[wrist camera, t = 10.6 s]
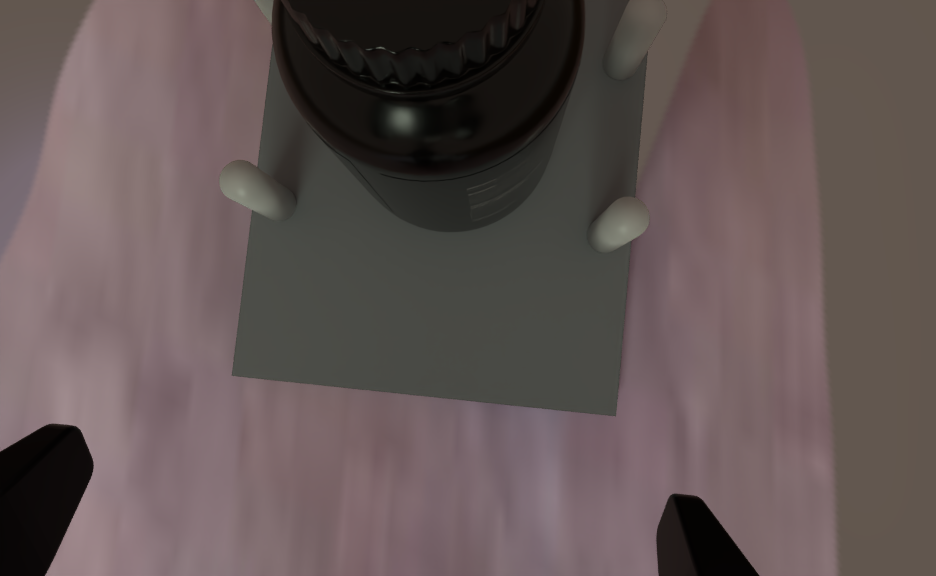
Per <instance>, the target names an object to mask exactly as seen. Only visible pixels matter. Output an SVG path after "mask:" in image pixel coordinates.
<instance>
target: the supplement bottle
mask: <svg viewBox="0 0 936 576" xmlns="http://www.w3.org/2000/svg"><path fill="white" fill-rule="evenodd" d="M585 29H586V8H585V0H273V8H272V40H273V48H274V53H275V59H276V63H277V66H278V70H279V73H280V76H281V79H282V81H283V84H284V86H285V88H286V91H287V92H288V94H289V96H290V98H291V100H292V102H293V104H294V105H295V107H296V108H297V110H298V111H299V113H300V114H301V116H302V117H303V119H304V120H305V121H306V123H307V124H308V125H309V126H310V128H311V129H312V130H313V131H314V132H315V134H316V135H317V136H318V137H319V138H320V139H321V140H322V141H323V143H324V144H325V145H326V146H327V147H328V148H329V149H330V150H331V151H332V152H333V154H334V155H335V156H336V157H337V158H338V159H339V160H340V161H341V162H342V163H343V164H344V166H345V167H346V168H347V169H348V170H349V171H350V172H351V173H352V174H353V175H354V177H355V178H356V179H357V180H358V181H359V182H360V183H361V184H362V185H363V186H364V187H365V189H366V190H367V191H368V192H369V193H370V194H371V195H372V196H373V197H374V198H375V199H376V200H377V201H378V202H379V203H380V204H381V205H382V206H383V207H385V208H386V209H387V210H388V211H390V212H391V213H392V214H394V215H395V216H397V217H398V218H400V219H402V220H404V221H406V222H408V223H410V224H412V225H415V226H417V227H420V228H424V229H427V230H432V231H438V232H464V231H470V230H475V229H479V228H482V227H485V226H488V225H490V224H493V223H495V222H497V221H499V220H501V219H502V218H504V217H506V216H507V215H509V214H510V213H512V212H513V211H514V210H515V209H517V208H518V207H519V206H520V205H521V204H522V203H523V202H524V201H525V200H526V199H527V198H528V197H529V196H530V194H531V193H532V192H533V191H534V189H535V188H536V186H537V185H538V183H539V182H540V180H541V178H542V176H543V174H544V172H545V170H546V167H547V165H548V162H549V160H550V157H551V155H552V152H553V148H554V145H555V142H556V139H557V136H558V133H559V130H560V127H561V124H562V120H563V117H564V114H565V111H566V108H567V105H568V102H569V99H570V96H571V92H572V89H573V86H574V83H575V80H576V76H577V73H578V70H579V66H580V63H581V57H582V52H583V46H584V40H585Z"/></svg>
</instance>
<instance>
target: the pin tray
mask: <svg viewBox="0 0 936 576" xmlns="http://www.w3.org/2000/svg"><path fill="white" fill-rule="evenodd" d="M254 1H255V2H256V4H257V5H258V7H259V8H260V10H261V11H262V12H263V14H264V15H265V17H266V18H267V19H268V21H269V22H270V24H271V25H272V8H273V0H254ZM585 8H586V29H585V40H584V46H583V52H582V57H581V63H580V66H579V70H578V73H577V76H576V80H575V83H574V86H573V89H572V92H571V96H570V99H569V102H568V105H567V108H566V111H565V114H564V117H563V120H562V124H561V127H560V130H559V133H558V136H557V139H556V142H555V145H554V148H553V152H552V155H551V157H550V160H549V162H548V165H547V167H546V170H545V172H544V174H543V176H542V178H541V180H540V182H539V183H538V185H537V186H536V188H535V189H534V191H533V192H532V193H531V194H530V196H529V197H528V198H527V199H526V200H525V201H524V202H523V203H522V204H521V205H520V206H519V207H518V208H517V209H515V210H514V211H513V212H512V213H510V214H509V215H507V216H506V217H504V218H502V219H501V220H499V221H497V222H495V223H493V224H490V225H488V226H485V227H482V228H479V229H475V230H470V231H464V232H438V231H432V230H427V229H424V228H420V227H417V226H415V225H412V224H410V223H408V222H406V221H404V220H402V219H400V218H398V217H397V216H395V215H394V214H392V213H391V212H390V211H388V210H387V209H386V208H385V207H383V206H382V205H381V204H380V203H379V202H378V201H377V200H376V199H375V198H374V197H373V196H372V195H371V194H370V193H369V192H368V191H367V190H366V189H365V187H364V186H363V185H362V184H361V183H360V182H359V181H358V180H357V179H356V178H355V177H354V175H353V174H352V173H351V172H350V171H349V170H348V169H347V168H346V167H345V166H344V164H343V163H342V162H341V161H340V160H339V159H338V158H337V157H336V156H335V155H334V154H333V152H332V151H331V150H330V149H329V148H328V147H327V146H326V145H325V144H324V143H323V141H322V140H321V139H320V138H319V137H318V136H317V135H316V134H315V132H314V131H313V130H312V129H311V128H310V126H309V125H308V124H307V123H306V121H305V120H304V119H303V117H302V116H301V114H300V113H299V111H298V110H297V108H296V107H295V105H294V104H293V102H292V100H291V98H290V96H289V94H288V92H287V91H286V88H285V86H284V84H283V81H282V79H281V76H280V73H279V70H278V66H277V63H276V59H275V53H274V48H273V44H272V52H271V60H270V69H269V77H268V85H267V93H266V101H265V109H264V118H263V126H262V134H261V142H260V150H259V158H258V166H257V167H256V166H255V165H253V164H252V163H250V162H248V161H245V160H236V161H233V162H231V163H229V164H228V165H226V166H225V167H224V169H223V170H222V172H221V174H220V179H219V183H220V188H221V190H222V192H223V193H224V194H225V196H227V197H228V198H230V199H232V200H234V201H235V202H237V203H239V204H241V205H243V206H245V207H247V208H249V209H251V210H252V215H251V224H250V232H249V240H248V248H247V256H246V264H245V273H244V281H243V289H242V297H241V305H240V313H239V321H238V330H237V338H236V346H235V354H234V362H233V370H232V376H239V377H248V378H258V379H267V380H277V381H286V382H296V383H305V384H315V385H324V386H334V387H343V388H353V389H362V390H372V391H381V392H391V393H400V394H410V395H419V396H428V397H438V398H447V399H457V400H466V401H476V402H485V403H495V404H504V405H514V406H523V407H533V408H542V409H552V410H561V411H571V412H580V413H590V414H599V415H609V416H616V410H617V399H618V387H619V376H620V364H621V353H622V341H623V330H624V318H625V307H626V295H627V284H628V272H629V261H630V249H631V240H633V239H635V238H636V237H638V236H640V235H641V234H642V233H643V232H644V231H645V230H646V229H647V227H648V224H649V220H650V216H649V211H648V209H647V207H646V205H645V204H644V203H643V202H642V201H640V200H639V199H637V198H635V192H636V180H637V168H638V157H639V145H640V133H641V122H642V111H643V99H644V87H645V76H646V65H647V53H648V50H649V48H650V46H651V45H652V43H653V41H654V39H655V38H656V36H657V34H658V33H659V31H660V29H661V28H662V26H663V24H664V23H665V20H666V18H667V8H666V5H665V3H664V2H663V0H585Z"/></svg>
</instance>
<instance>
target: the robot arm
mask: <svg viewBox="0 0 936 576" xmlns="http://www.w3.org/2000/svg"><path fill="white" fill-rule="evenodd" d="M93 467H94V465H93V459H92V456H91V454H90V451H89V449H88V446H87V444H86V442H85V439H84V437H83V434H82V432H81V430H80V429H79V428H77V427H76V426H72V425H63V424H48V425H46V426H44V427H42V428H40V429H38V430H36V431H35V432H33V433H31V434H30V435H28V436H26V437H24V438H23V439H21V440H19V441H18V442H16V443H14V444H13V445H11V446H9V447H7V448H6V449H4V450H2V451H1V452H0V576H45V575H46V573H47V571H48V569H49V567H50V565H51V563H52V561H53V559H54V557H55V555H56V553H57V551H58V548H59V546H60V544H61V542H62V540H63V538H64V535H65V533H66V531H67V529H68V527H69V525H70V522H71V520H72V518H73V516H74V514H75V511H76V509H77V507H78V505H79V503H80V501H81V498H82V496H83V494H84V492H85V490H86V488H87V485H88V483H89V481H90V479H91V476H92V473H93ZM656 542H657V558H658V573H659V576H759V575H758V573H757V572H756V571H755V569H754V568H753V567H752V565H751V564H750V563H749V561H748V560H747V559H746V557H745V556H744V555H743V553H742V552H741V551H740V549H739V548H738V547H737V545H736V544H735V543H734V541H733V540H732V539H731V537H730V536H729V535H728V533H727V532H726V531H725V529H724V528H723V527H722V525H721V524H720V523H719V521H718V520H717V518H716V517H715V516H714V514H713V513H712V512H711V510H710V509H709V508H708V506H707V505H706V504H705V502H704V501H703V500H702V499H701V498H699V497H697V496H693V495H684V494H672V495H671V496H670V497H669V499H668V501H667V504H666V506H665V509H664V512H663V514H662V517H661V520H660V522H659V525H658V528H657V537H656Z"/></svg>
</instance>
